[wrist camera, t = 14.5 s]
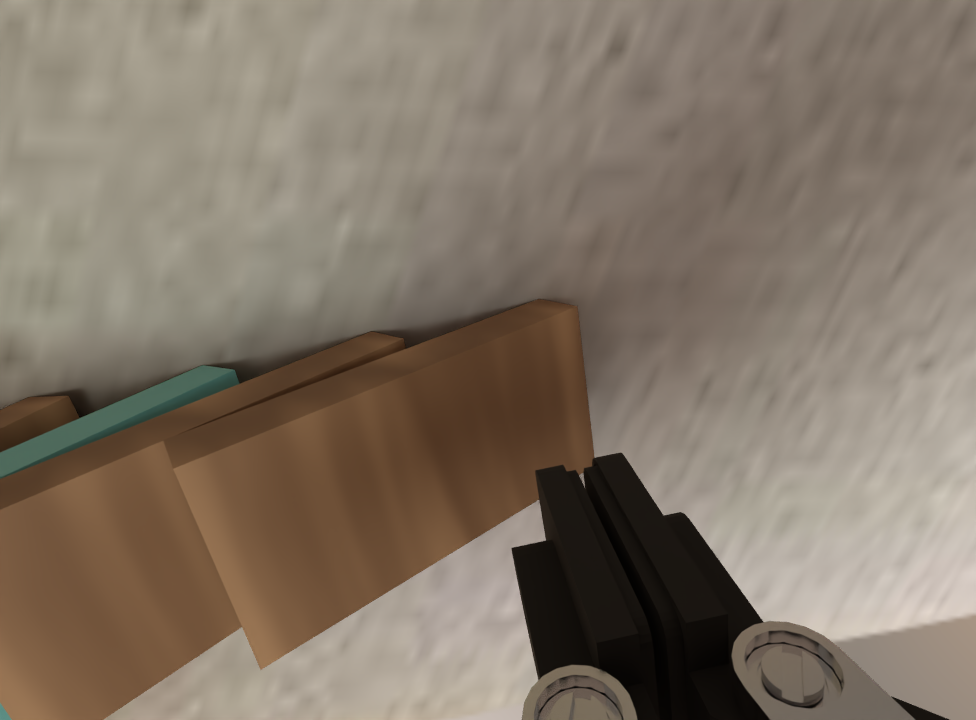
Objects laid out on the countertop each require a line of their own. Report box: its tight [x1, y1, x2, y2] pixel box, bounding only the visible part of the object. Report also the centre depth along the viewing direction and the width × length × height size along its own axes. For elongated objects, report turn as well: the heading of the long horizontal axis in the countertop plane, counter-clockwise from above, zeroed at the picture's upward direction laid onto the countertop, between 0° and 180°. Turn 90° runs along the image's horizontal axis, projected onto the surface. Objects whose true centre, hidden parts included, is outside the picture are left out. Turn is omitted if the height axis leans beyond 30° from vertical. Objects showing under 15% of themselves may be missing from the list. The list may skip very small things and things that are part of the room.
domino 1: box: [0, 365, 239, 720], centre depth 13 cm, size 2×5×10 cm
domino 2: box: [0, 331, 406, 720], centre depth 13 cm, size 2×5×10 cm
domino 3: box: [163, 299, 594, 669], centre depth 14 cm, size 2×5×10 cm
